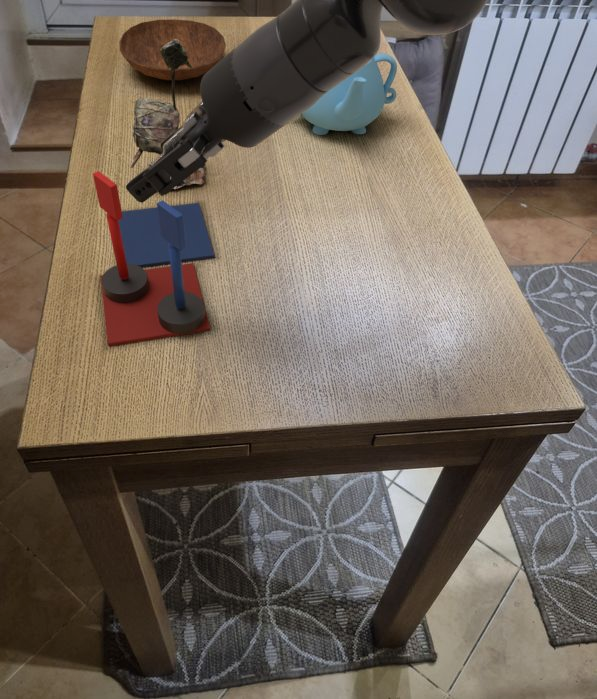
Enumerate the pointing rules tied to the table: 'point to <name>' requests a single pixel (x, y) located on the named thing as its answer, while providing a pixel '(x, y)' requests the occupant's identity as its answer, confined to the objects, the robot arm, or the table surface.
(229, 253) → the table surface
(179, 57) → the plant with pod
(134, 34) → the bowl
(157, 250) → the blue mat
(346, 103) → the teapot
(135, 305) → the red mat
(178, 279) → the blue signpost
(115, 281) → the red paddle on stand
